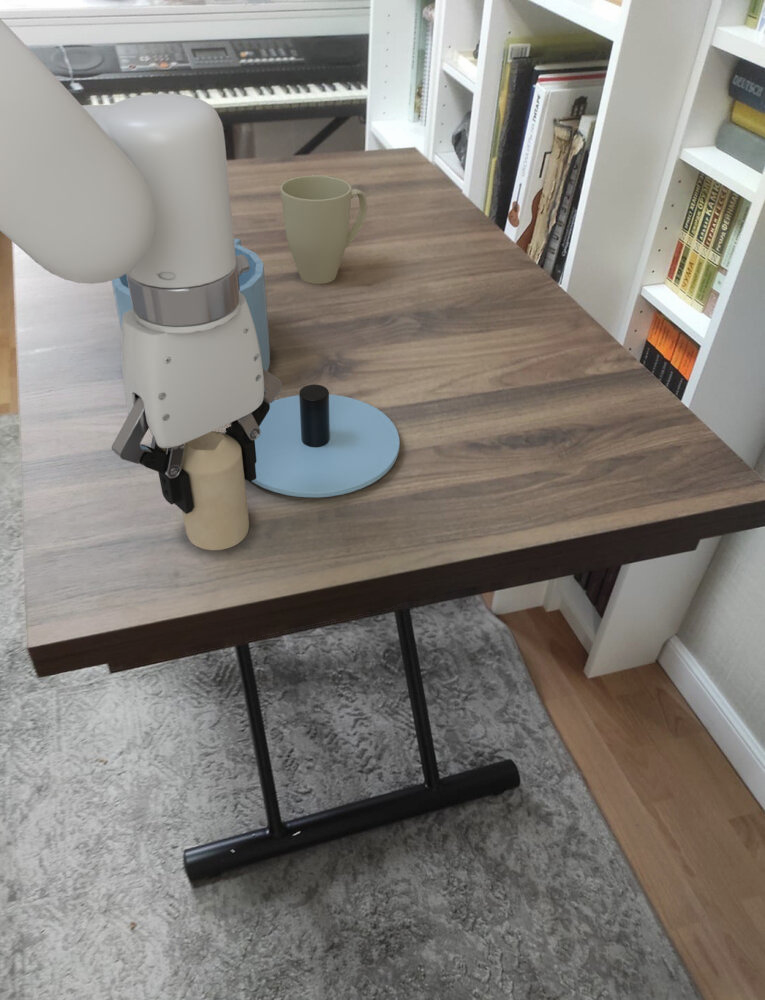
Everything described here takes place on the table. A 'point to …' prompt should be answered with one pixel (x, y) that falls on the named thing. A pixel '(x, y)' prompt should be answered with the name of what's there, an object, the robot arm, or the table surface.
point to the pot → (249, 287)
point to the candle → (216, 492)
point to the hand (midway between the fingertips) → (212, 486)
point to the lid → (323, 445)
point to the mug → (319, 223)
